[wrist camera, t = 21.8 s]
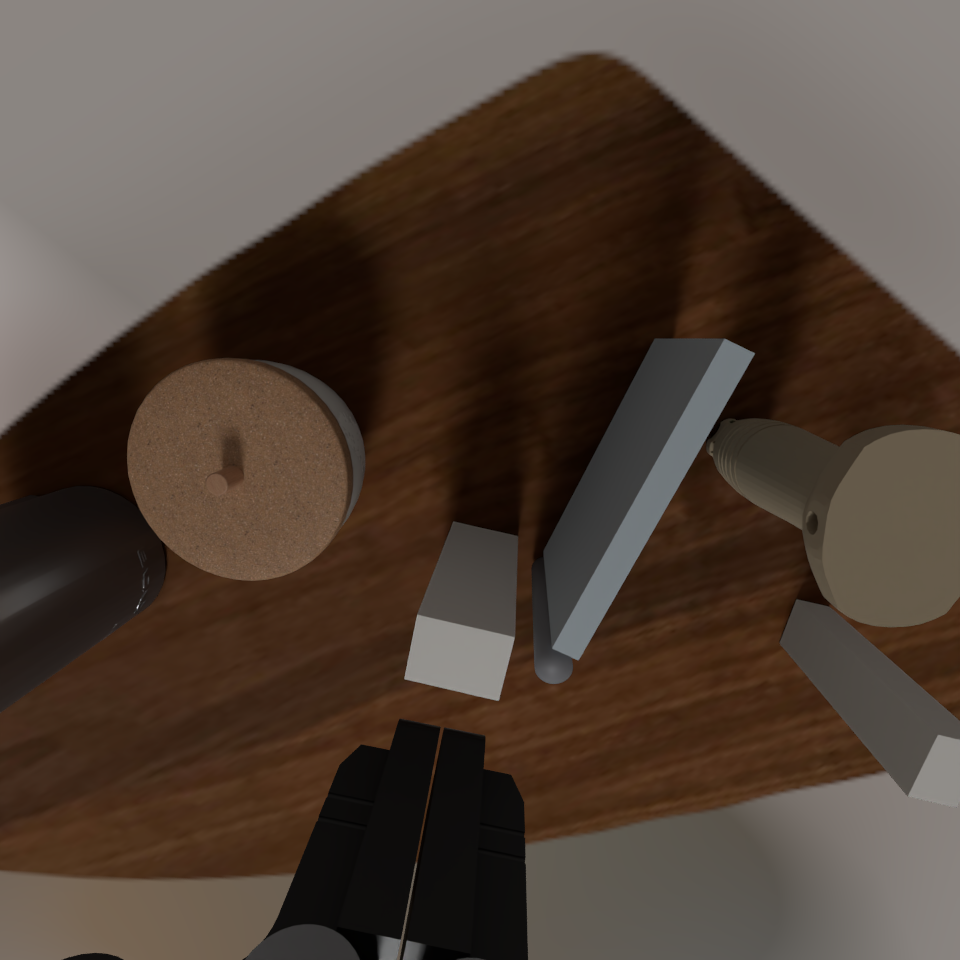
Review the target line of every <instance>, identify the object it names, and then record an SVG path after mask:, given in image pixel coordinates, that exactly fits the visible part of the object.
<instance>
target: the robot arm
mask: <svg viewBox="0 0 960 960" xmlns="http://www.w3.org/2000/svg"><path fill="white" fill-rule="evenodd" d="M164 576H165V555H164V551H163V547H162V543H161V541H160V539H159V537H158V536H157V535H156V533H155V532H154V531H153V529H152V528H151V527H150V525H149V524H148V522H147V521H146V519H145V517H144V516H143V514H142V513H141V511H140V510H139V509H138V508H137V507H136V506H135V505H134V504H132V503H131V502H129V501H128V500H126V499H125V498H123V497H122V496H120V495H118V494H115V493H113V492H111V491H108V490H106V489H102V488H97V487H93V486H74V487H70V488H65V489H61V490H58V491H55V492H52V493H49V494H46V495H43V496H40V497H39V496H35V495H29V496H26V497H23V498H20V499H16V500H13V501H10V502H7V503H4V504H1V505H0V713H1V712H2V711H3V710H5V709H6V708H8V707H9V706H10V705H12V704H13V703H15V702H16V701H17V700H19V699H20V698H22V697H23V696H24V695H26V694H27V693H29V692H30V691H31V690H33V689H34V688H36V687H37V686H38V685H40V684H41V683H43V682H44V681H45V680H47V679H48V678H50V677H51V676H52V675H54V674H55V673H57V672H58V671H59V670H61V669H62V668H64V667H65V666H66V665H68V664H69V663H71V662H72V661H73V660H75V659H76V658H78V657H79V656H80V655H82V654H83V653H85V652H86V651H87V650H89V649H90V648H92V647H93V646H94V645H96V644H97V643H99V642H100V641H101V640H103V639H104V638H106V637H107V636H108V635H110V634H111V633H113V632H114V631H115V630H117V629H118V628H119V627H121V626H122V625H124V624H125V623H126V622H128V621H129V620H130V619H132V618H133V617H135V616H136V615H137V614H139V613H140V612H141V611H143V610H144V609H146V608H147V607H148V606H150V604H151V603H152V602H153V601H154V600H155V598H156V597H157V596H158V594H159V592H160V589H161V587H162V585H163V581H164ZM439 733H440V727H439V726H434V725H429V724H424V723H419V722H414V721H409V720H404V719H399V722H398V725H397V728H396V731H395V735H394V738H393V741H392V745H391V748H390V750H386V749H381V748H376V747H371V746H366V745H360V746H359V747H358V748H357V749H356V750H355V751H354V752H353V753H352V754H351V755H350V756H349V757H348V758H347V759H345V760H344V761H343V762H342V763H341V764H340V766H339V768H338V770H337V773H336V775H335V778H334V780H333V783H332V785H331V788H330V790H329V793H328V797H327V798H326V800H325V802H324V805H323V807H322V810H321V812H320V815H319V818H318V821H317V822H316V824H315V827H314V829H313V832H312V834H311V837H310V839H309V842H308V844H307V847H306V849H305V851H304V854H303V856H302V859H301V861H300V864H299V866H298V869H297V871H296V873H295V876H294V878H293V881H292V883H291V886H290V888H289V891H288V893H287V896H286V898H285V901H284V903H283V905H282V908H281V910H280V913H279V915H278V918H277V920H276V922H275V924H274V926H273V927H272V929H271V930H270V932H269V933H268V935H267V936H266V938H265V939H264V940H263V941H262V942H261V943H260V944H259V945H258V946H257V947H256V948H255V949H254V950H252V952H251V953H250V954H249V955H248V956H247V957H246V958H244V959H243V960H397V956H398V951H399V946H400V941H401V936H402V931H403V925H404V920H405V914H406V909H407V904H408V899H409V893H410V888H411V882H412V877H413V872H414V866H415V861H416V856H417V850H418V845H419V840H420V834H421V829H422V824H423V818H424V813H425V808H426V802H427V797H428V792H429V786H430V781H431V775H432V770H433V765H434V759H435V754H436V749H437V743H438V738H439ZM484 753H485V736H484V735H479V734H474V733H469V732H464V731H460V730H455V729H450V728H445V727H444V731H443V735H442V740H441V745H440V750H439V755H438V760H437V765H436V770H435V774H434V779H433V784H432V789H431V794H430V799H429V804H428V809H427V814H426V819H425V824H424V830H423V835H422V840H421V846H420V851H419V857H418V862H417V868H416V873H415V879H414V884H413V890H412V895H411V901H410V906H409V912H408V917H407V923H406V929H405V934H404V939H403V945H402V950H401V956H400V960H528V947H527V946H528V944H527V903H526V865H525V838H524V833H525V822H524V801H523V799H522V797H521V795H520V793H519V791H518V788H517V786H516V784H515V782H514V780H513V778H512V776H511V775H509V774H505V773H500V772H495V771H490V770H485V769H483V768H484ZM63 960H123V959H121V958H119V957H117V956H113V955H109V954H102V953H90V954H81V955H77V956H73V957H69V958H66V959H63Z"/></svg>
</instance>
